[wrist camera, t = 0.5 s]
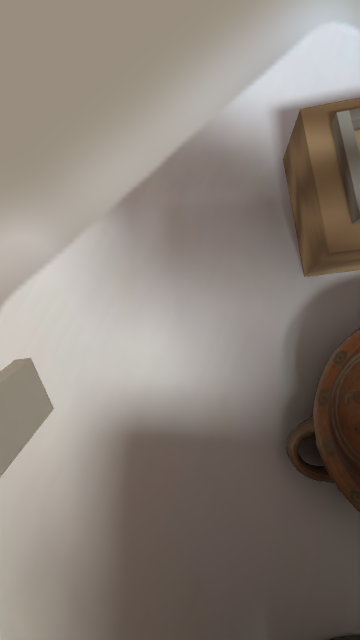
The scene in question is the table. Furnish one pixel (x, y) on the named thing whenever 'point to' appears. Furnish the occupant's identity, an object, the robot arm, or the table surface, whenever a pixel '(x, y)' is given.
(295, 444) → the dish
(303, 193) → the display riser
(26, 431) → the robot arm
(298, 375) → the table surface
